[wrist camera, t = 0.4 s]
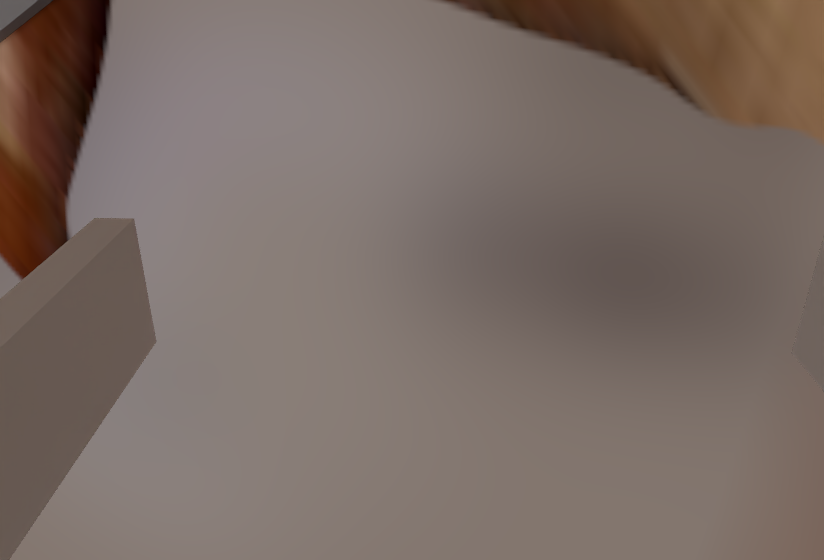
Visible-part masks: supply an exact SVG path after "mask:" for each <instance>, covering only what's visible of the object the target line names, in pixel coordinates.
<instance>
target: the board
mask: <svg viewBox="0 0 824 560" xmlns="http://www.w3.org/2000/svg"><path fill="white" fill-rule="evenodd" d="M51 1H53V0H0V42H1V41H3V40H4V39H5V38H6V37H8V36H9V35H10V34H11V33H13V32H14V31H15V30H16V29H18V28H19V27H20V26H21V25H23V24H24V23H25V22H26V21H28V20H29V19H30V18H31V17H33V16H34V15H35V14H36V13H38V12H39V11H40V10H41V9H43V8H44V7H45V6H46V5H48V4H49V3H50V2H51Z"/></svg>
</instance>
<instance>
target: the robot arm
mask: <svg viewBox="0 0 824 560" xmlns="http://www.w3.org/2000/svg"><path fill="white" fill-rule="evenodd" d="M155 343H156V337H155V332H154V326H153V321H152V315H151V310H150V305H149V299H148V293H147V288H146V282H145V277H144V271H143V266H142V260H141V255H140V250H139V244H138V238H137V233H136V227H135V222H134V219H116V218H112V219H111V218H94V219H93V220H92V221H91V222H90V223H89V224H87V225H86V226H85V227H84V228H83V229H82V230H80V231H79V232H78V233H77V234H76V235H75V236H73V237H72V238H71V239H70V240H69V241H67V242H66V243H65V244H64V245H63V246H62V247H60V248H59V249H58V250H57V251H56V252H55V253H53V254H52V255H51V256H50V257H49V258H48V259H46V260H45V261H44V262H43V263H42V264H40V265H39V266H38V267H37V268H36V269H35V270H33V271H32V272H31V273H30V274H29V275H28V276H26V277H25V278H24V279H23V280H22V281H21V282H19V283H18V284H17V285H16V286H15V287H14V288H13V289H11V290H10V291H9V292H8V293H7V294H5V295H4V296H3V297H2V298H1V299H0V560H9V559H10V558H11V556H12V555H13V553H14V552H15V550H16V549H17V547H18V546H19V544H20V543H21V541H22V540H23V539H24V537H25V536H26V534H27V533H28V531H29V530H30V528H31V527H32V525H33V524H34V522H35V521H36V519H37V517H38V516H39V515H40V513H41V512H42V510H43V509H44V507H45V506H46V504H47V503H48V501H49V500H50V499H51V497H52V496H53V494H54V493H55V491H56V490H57V488H58V486H59V485H60V484H61V482H62V481H63V479H64V478H65V476H66V475H67V473H68V472H69V470H70V469H71V467H72V466H73V464H74V463H75V461H76V460H77V458H78V457H79V456H80V454H81V453H82V451H83V449H84V448H85V447H86V445H87V444H88V442H89V441H90V439H91V438H92V436H93V435H94V433H95V432H96V430H97V429H98V427H99V426H100V424H101V423H102V421H103V420H104V418H105V417H106V416H107V414H108V413H109V411H110V409H111V408H112V407H113V405H114V404H115V402H116V401H117V399H118V398H119V396H120V395H121V393H122V392H123V390H124V389H125V387H126V386H127V384H128V383H129V381H130V380H131V378H132V377H133V376H134V374H135V373H136V371H137V370H138V368H139V367H140V365H141V364H142V362H143V361H144V359H145V358H146V356H147V355H148V353H149V352H150V350H151V349H152V347H153V346H154V344H155ZM792 354H793V355H794V356H795V358H796V359H797V360H798V361H799V362H800V363H801V365H802V366H803V367H804V368H805V370H806V371H807V372H808V373H809V374H810V376H811V377H812V378H813V379H814V380H815V382H816V383H817V384H818V385H819V387H820V388H821V389H822V390H823V391H824V237H823V241H822V244H821V248H820V252H819V255H818V259H817V263H816V266H815V270H814V273H813V277H812V281H811V285H810V288H809V292H808V296H807V299H806V303H805V306H804V310H803V314H802V317H801V321H800V324H799V328H798V332H797V335H796V339H795V342H794V346H793V350H792Z"/></svg>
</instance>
